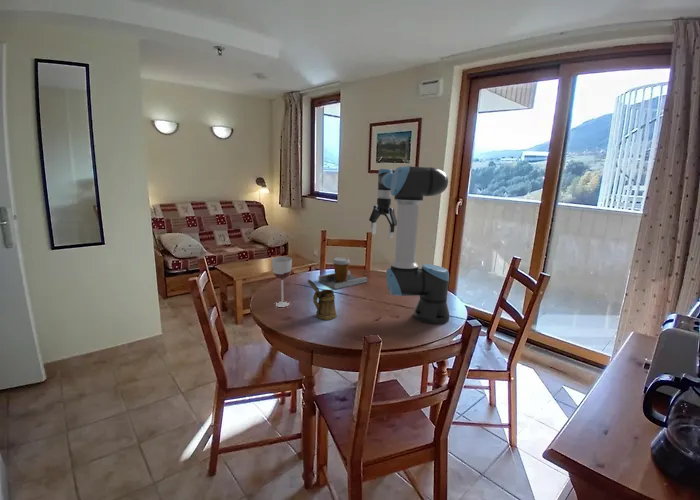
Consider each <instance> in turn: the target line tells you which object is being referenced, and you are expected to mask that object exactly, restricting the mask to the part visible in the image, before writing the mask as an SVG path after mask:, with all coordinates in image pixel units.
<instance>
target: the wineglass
mask: <svg viewBox="0 0 700 500" xmlns="http://www.w3.org/2000/svg"><path fill="white" fill-rule="evenodd" d="M271 263H272V264H271V267H272V271H273V275H274V276H275V277H276V278H277V279H279V280H281V281H280V282H281V283H280V287H281V290H280V291H281V292H280V293H281V295H280V296H281V301H278V302H279V303H277V302H275V303H276V306H278V307H285V306H288V305H289V303H290V302H289V303H287V302H288V301H284V280H285V279H287V278H288V277H289V276H290V274H291V272H292V267H293V266H292V264H293V258H292V257H289V256H275V257H273V258H271ZM283 301H284V302H283Z"/></svg>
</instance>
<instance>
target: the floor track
mask: <svg viewBox="0 0 700 500" xmlns="http://www.w3.org/2000/svg"><path fill="white" fill-rule="evenodd" d="M317 280H318V283H320V284H321V285H324V286H327V287H329V288H330V289H333V290H334V291H337V290H341V289H346V288H350V287H355V286H360V285H364V284H367V283H368V277H367V276H363V277H356V276H354V275H352V274H351V270H348V273H347V279H346V280H345V281H337V280H336V279H335V272H334V273H329V274H324V275H323V274H322V275H319V276H318V279H317Z"/></svg>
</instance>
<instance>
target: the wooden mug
mask: <svg viewBox="0 0 700 500" xmlns="http://www.w3.org/2000/svg"><path fill="white" fill-rule="evenodd" d="M307 282H308V285H310V287H311V288H312V289H313V290H314V294H313V296H312V301H313V303H314V306H315V307H316V309H317V310H316V313H315V317H316V318H317V319H320V320H323V321H331V320H333V319H334V320H335V318H337V316H338V315H337V310H336V305H335V304H336V303H335V300H336V299H335V298H336V297H335V294H334V291H335V290H332V289H321V290H320V289H319V287H318V286H317V285H316V284H315V283H314V282H313V281H312V280H310V279H307Z"/></svg>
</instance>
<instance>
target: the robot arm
mask: <svg viewBox="0 0 700 500" xmlns="http://www.w3.org/2000/svg"><path fill="white" fill-rule="evenodd" d="M377 176H378V177H377V179H378V180H377V200H376V204H377V205H373V209H372V212H371V213H370V217H369V219H368V220H369V221H370V222H371V225H370V226H371V235H376V234H377V220H378V219H379V218H380V216H381V215H382V216H385V218H386V220H387V222H388V223H389V226H388V239H394V233H395V232H396V233H395V234H396V235H395V248H394V249H395V250H394V259H393V262H391V263H390V267H388V268H387V269H386V272H385V277H386V278H385V279H386V285H387V289H388V292H389V293H390V294H391V296H400V297H404V296H405V297H408V296H409V297H410V296H411V297H412V296H415V297H416V296H419V300H418V301H417V304H416V307H415V309H414V314H413V316H414V317H415V318H416V320H418V321H419V322H422V323H425V324H431V325H440V324H441V325H443V324H445V323H447V322H449V321H450V311H449V307H448V304H447V299H448V291H449V282H450V273H449V270H448V269H447V268H445V267H443V266H440V265H437V264H429V263H424V264H423V265H422V266H421V268H419V264H418V263H417V262H416V255H417V239H418V238H417V237H418V225H419V224H418V223H419V222H418V221H419V206H420V204H422V202H423V201H424V197H433V196H437V195H440V194H442V193H443V192H445V190H447V188H448V186H449V177H448V174H446V173H445V171H443V170H441V169H440V168H437V167H430V166H429V167H426V166H423V167H422V166H409V165H407V166H398V167H397V168H395V169H394V171H393V169H392V168H380V169H378V174H377ZM392 196H393V198H394V201H395V202H396V203H397V214H395V207H390V206H391V205H392V204H391V203H392V199H391V198H392ZM395 227H396V228H395ZM395 229H396V231H395Z"/></svg>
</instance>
